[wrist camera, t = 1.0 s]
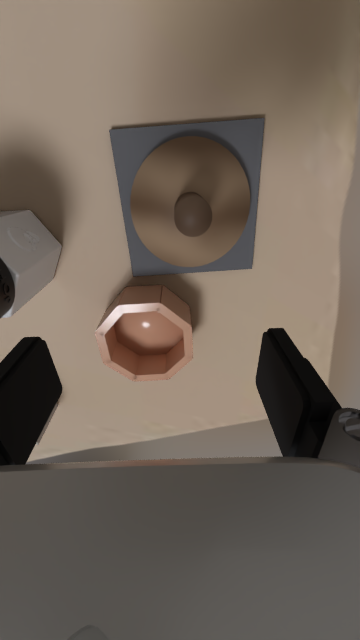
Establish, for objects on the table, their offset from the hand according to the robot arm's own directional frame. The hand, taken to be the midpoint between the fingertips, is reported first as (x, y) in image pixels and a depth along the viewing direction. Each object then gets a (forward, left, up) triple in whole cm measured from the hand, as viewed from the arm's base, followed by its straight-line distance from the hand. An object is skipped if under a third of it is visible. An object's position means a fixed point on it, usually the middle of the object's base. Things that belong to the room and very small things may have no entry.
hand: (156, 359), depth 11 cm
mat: (-4, +3, -20) cm, 21 cm away
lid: (-4, +3, -20) cm, 20 cm away
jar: (-1, -16, -21) cm, 26 cm away
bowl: (+10, -3, -20) cm, 23 cm away
